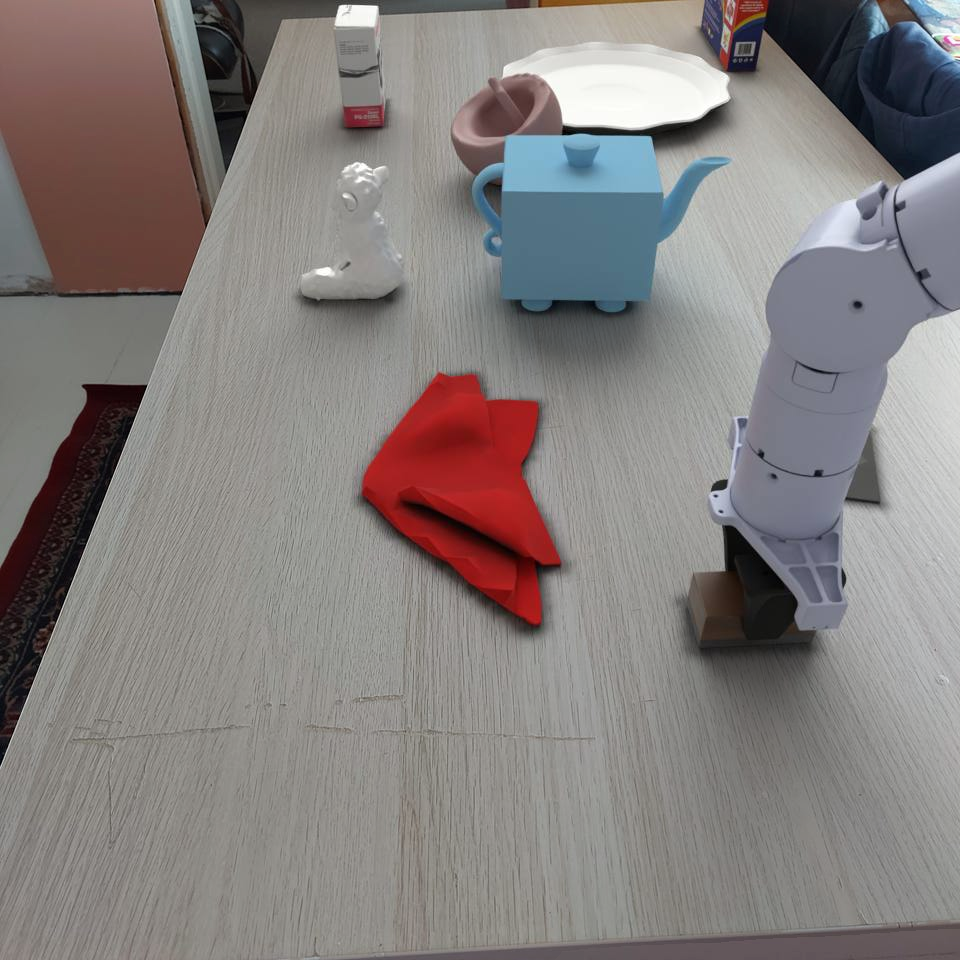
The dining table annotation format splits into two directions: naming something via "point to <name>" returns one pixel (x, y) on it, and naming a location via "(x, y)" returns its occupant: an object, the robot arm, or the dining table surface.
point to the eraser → (727, 612)
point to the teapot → (582, 217)
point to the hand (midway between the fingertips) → (752, 607)
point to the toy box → (735, 31)
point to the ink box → (360, 65)
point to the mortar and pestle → (503, 119)
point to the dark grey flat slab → (865, 477)
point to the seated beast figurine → (358, 242)
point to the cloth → (467, 489)
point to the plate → (626, 87)
